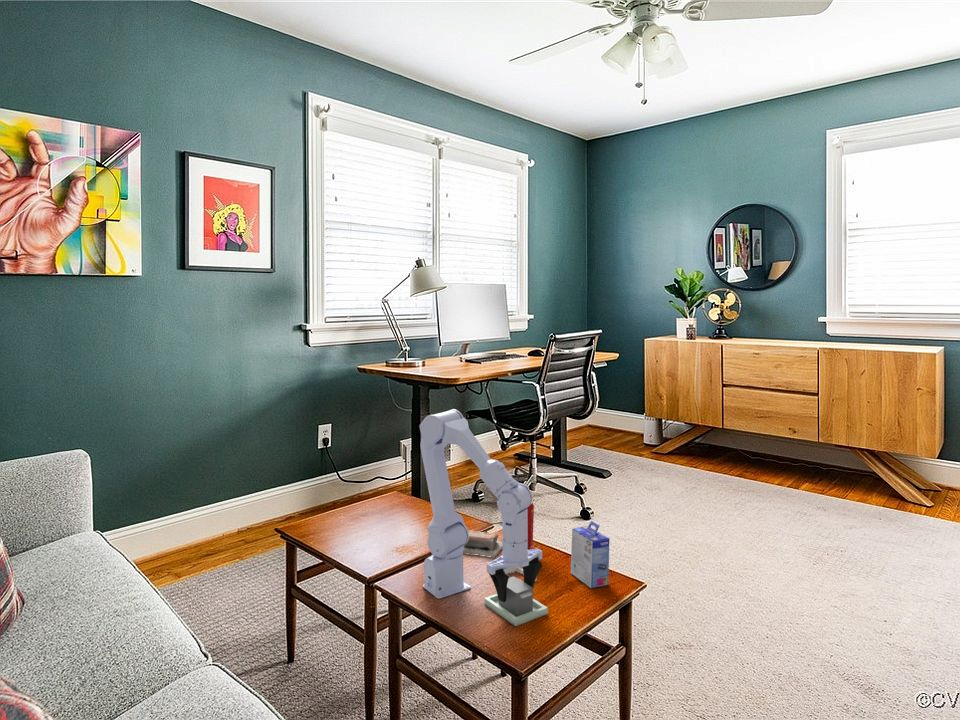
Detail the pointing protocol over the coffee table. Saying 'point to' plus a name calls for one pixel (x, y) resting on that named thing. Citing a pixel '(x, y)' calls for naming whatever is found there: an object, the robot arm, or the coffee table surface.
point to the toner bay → (512, 569)
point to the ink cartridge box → (590, 556)
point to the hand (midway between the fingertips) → (515, 595)
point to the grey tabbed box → (518, 597)
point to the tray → (536, 613)
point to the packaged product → (482, 544)
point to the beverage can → (530, 525)
